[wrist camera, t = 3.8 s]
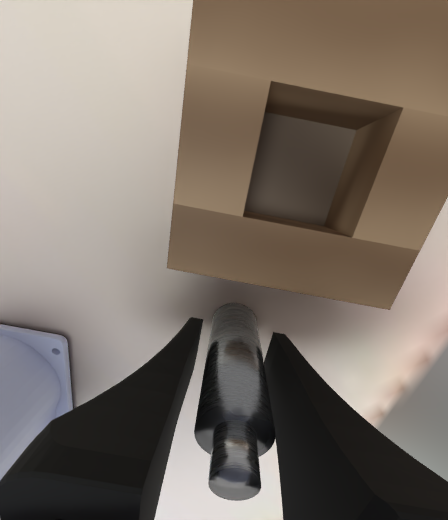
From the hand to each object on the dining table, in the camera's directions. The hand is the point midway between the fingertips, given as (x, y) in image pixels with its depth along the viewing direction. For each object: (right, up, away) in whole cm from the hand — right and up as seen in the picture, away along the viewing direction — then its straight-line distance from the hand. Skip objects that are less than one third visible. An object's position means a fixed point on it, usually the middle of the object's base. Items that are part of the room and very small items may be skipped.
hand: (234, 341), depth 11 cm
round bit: (0, 0, +2) cm, 2 cm away
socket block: (+3, +8, -1) cm, 9 cm away
